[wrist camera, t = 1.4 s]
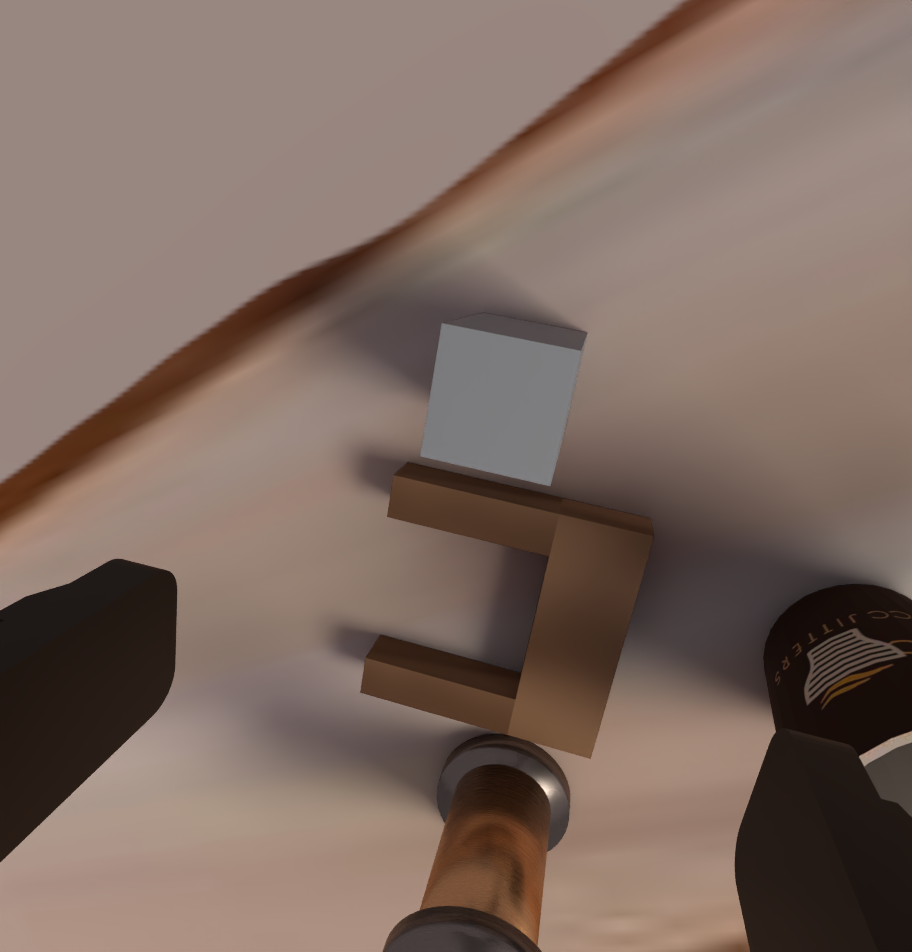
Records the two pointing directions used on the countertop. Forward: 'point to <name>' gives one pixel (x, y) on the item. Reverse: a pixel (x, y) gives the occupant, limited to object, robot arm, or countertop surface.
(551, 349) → the grey rectangular block
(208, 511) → the countertop surface
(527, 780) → the bobbin
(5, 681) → the robot arm
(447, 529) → the u-shaped bracket
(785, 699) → the coffee mug
